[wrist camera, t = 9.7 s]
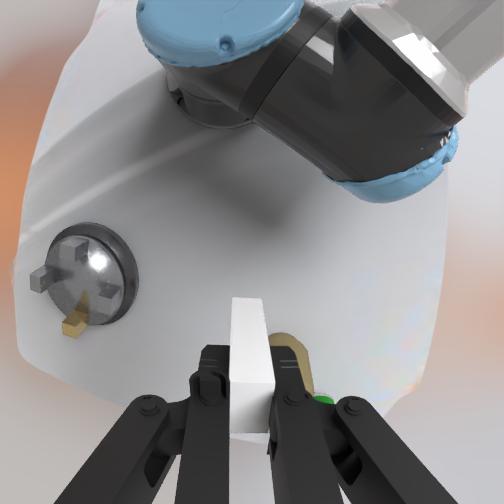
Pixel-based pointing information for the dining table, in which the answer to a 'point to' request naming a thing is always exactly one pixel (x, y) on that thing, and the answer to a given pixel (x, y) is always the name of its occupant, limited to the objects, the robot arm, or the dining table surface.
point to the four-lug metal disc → (82, 281)
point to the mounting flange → (119, 250)
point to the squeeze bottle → (301, 355)
